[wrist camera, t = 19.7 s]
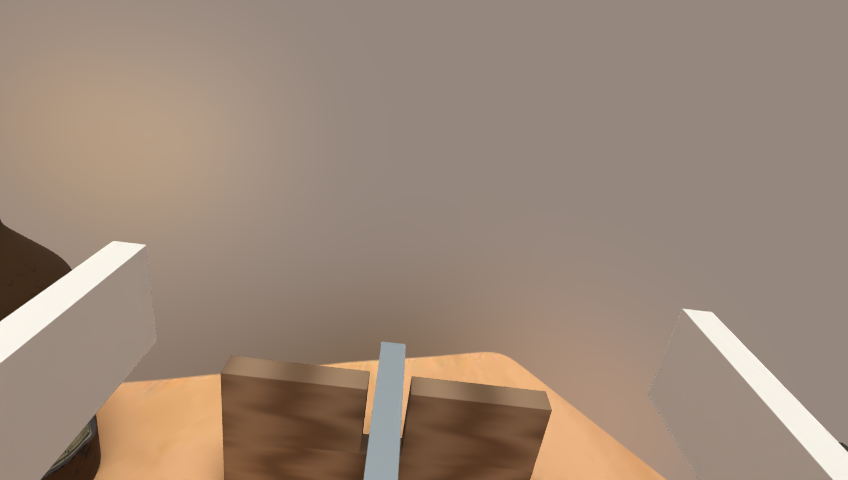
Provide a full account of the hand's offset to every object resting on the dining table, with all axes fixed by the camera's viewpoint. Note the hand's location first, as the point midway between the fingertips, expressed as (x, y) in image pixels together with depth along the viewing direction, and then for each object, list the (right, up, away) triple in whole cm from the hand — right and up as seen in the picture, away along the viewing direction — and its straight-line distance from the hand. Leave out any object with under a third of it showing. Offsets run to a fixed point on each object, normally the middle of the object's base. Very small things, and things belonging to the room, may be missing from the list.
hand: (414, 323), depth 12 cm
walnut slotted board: (-4, -19, +29) cm, 35 cm away
